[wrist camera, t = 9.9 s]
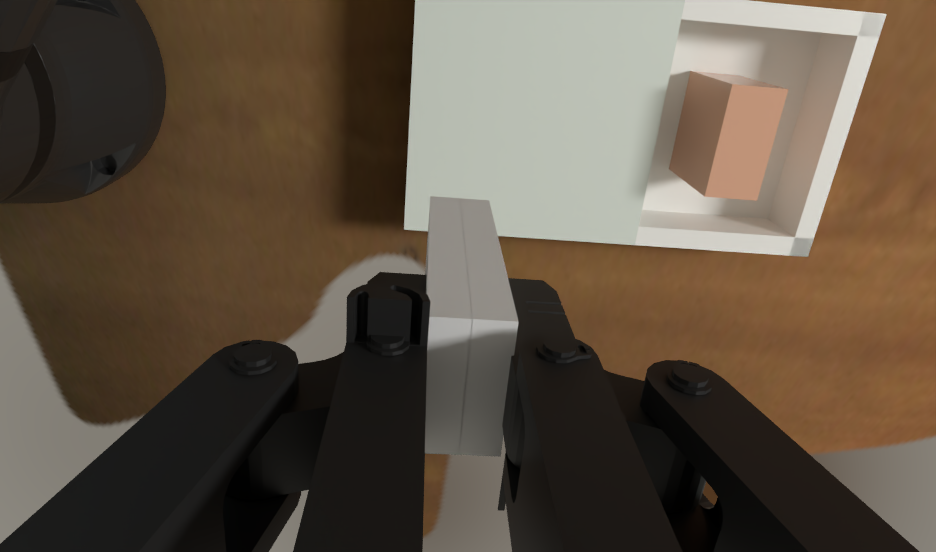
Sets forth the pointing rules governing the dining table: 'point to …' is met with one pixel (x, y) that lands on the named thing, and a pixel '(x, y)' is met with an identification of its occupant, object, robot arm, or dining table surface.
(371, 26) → the dining table surface
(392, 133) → the dining table surface
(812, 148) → the box
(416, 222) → the white flat block
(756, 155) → the tile
